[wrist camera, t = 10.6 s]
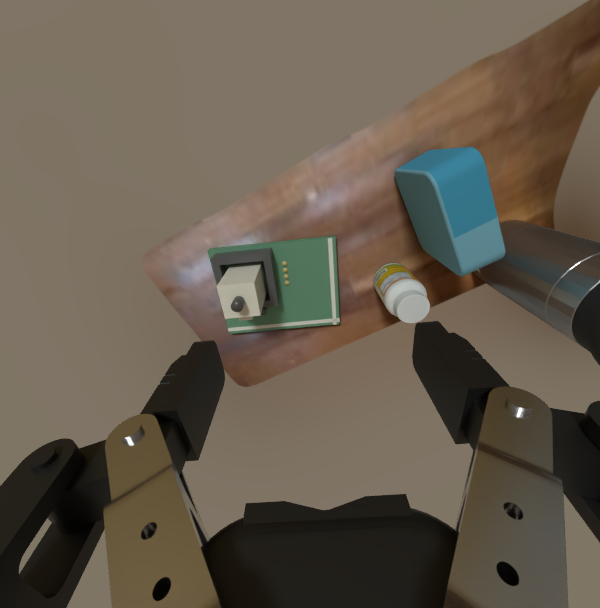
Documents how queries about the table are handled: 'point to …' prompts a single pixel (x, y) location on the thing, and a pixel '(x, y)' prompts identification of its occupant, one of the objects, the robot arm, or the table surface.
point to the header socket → (252, 256)
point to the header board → (296, 285)
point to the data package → (452, 208)
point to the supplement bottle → (401, 293)
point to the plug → (243, 290)
